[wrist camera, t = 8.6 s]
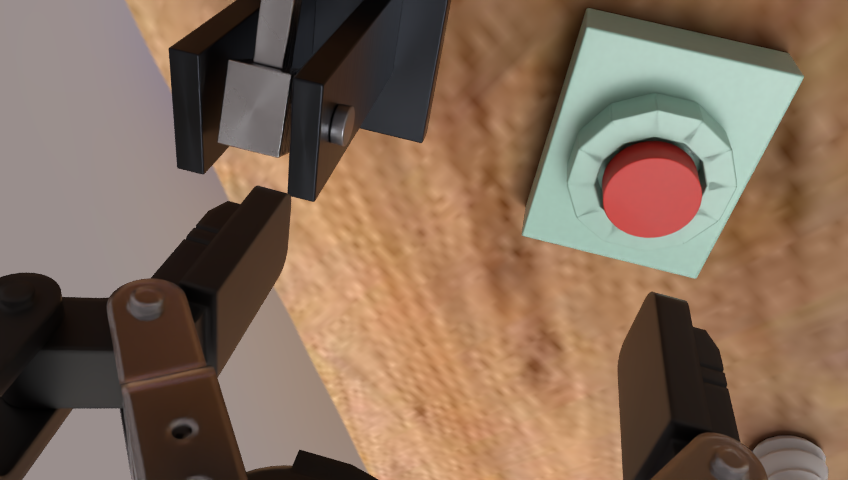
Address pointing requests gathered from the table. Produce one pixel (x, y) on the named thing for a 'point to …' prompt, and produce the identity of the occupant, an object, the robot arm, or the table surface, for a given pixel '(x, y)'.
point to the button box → (655, 131)
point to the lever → (263, 85)
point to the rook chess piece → (791, 459)
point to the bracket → (316, 79)
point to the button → (651, 189)
